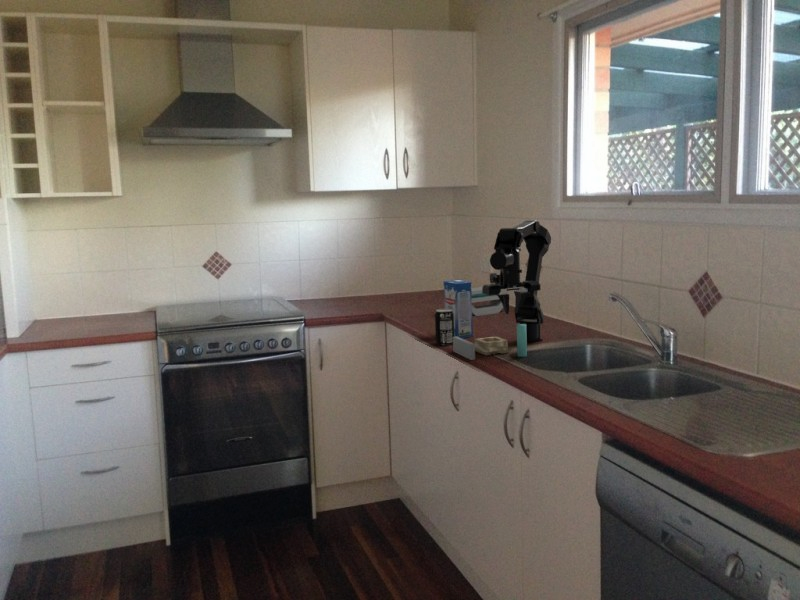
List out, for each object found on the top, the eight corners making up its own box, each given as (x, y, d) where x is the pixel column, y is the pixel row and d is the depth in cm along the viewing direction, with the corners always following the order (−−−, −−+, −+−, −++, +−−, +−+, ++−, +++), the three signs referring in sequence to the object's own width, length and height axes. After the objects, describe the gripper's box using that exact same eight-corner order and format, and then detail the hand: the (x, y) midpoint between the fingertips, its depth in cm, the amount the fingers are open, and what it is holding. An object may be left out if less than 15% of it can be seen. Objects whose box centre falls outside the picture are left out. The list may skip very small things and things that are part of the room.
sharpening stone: (462, 317, 304) (461, 292, 303) (453, 315, 311) (452, 290, 310) (511, 311, 315) (511, 286, 314) (501, 308, 322) (500, 284, 321)
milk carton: (445, 334, 271) (443, 281, 268) (460, 332, 273) (458, 279, 270) (457, 338, 262) (456, 283, 259) (473, 336, 264) (471, 282, 261)
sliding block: (496, 348, 243) (496, 336, 242) (507, 352, 235) (507, 340, 235) (474, 350, 240) (474, 338, 240) (485, 355, 233) (485, 343, 232)
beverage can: (443, 341, 259) (442, 308, 257) (458, 342, 254) (457, 309, 253) (432, 344, 254) (430, 310, 252) (447, 346, 249) (446, 312, 248)
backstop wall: (457, 351, 242) (457, 336, 241) (475, 359, 228) (474, 343, 228) (453, 351, 241) (452, 336, 240) (470, 359, 228) (470, 344, 227)
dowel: (524, 354, 232) (523, 323, 231) (528, 356, 229) (528, 325, 228) (515, 355, 231) (515, 324, 230) (520, 357, 228) (519, 326, 227)
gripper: (524, 262, 247) (525, 307, 249) (474, 266, 241) (475, 312, 243) (541, 265, 236) (541, 312, 239) (489, 269, 230) (490, 317, 233)
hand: (512, 313), depth 239 cm, fingers open, 3 cm apart
